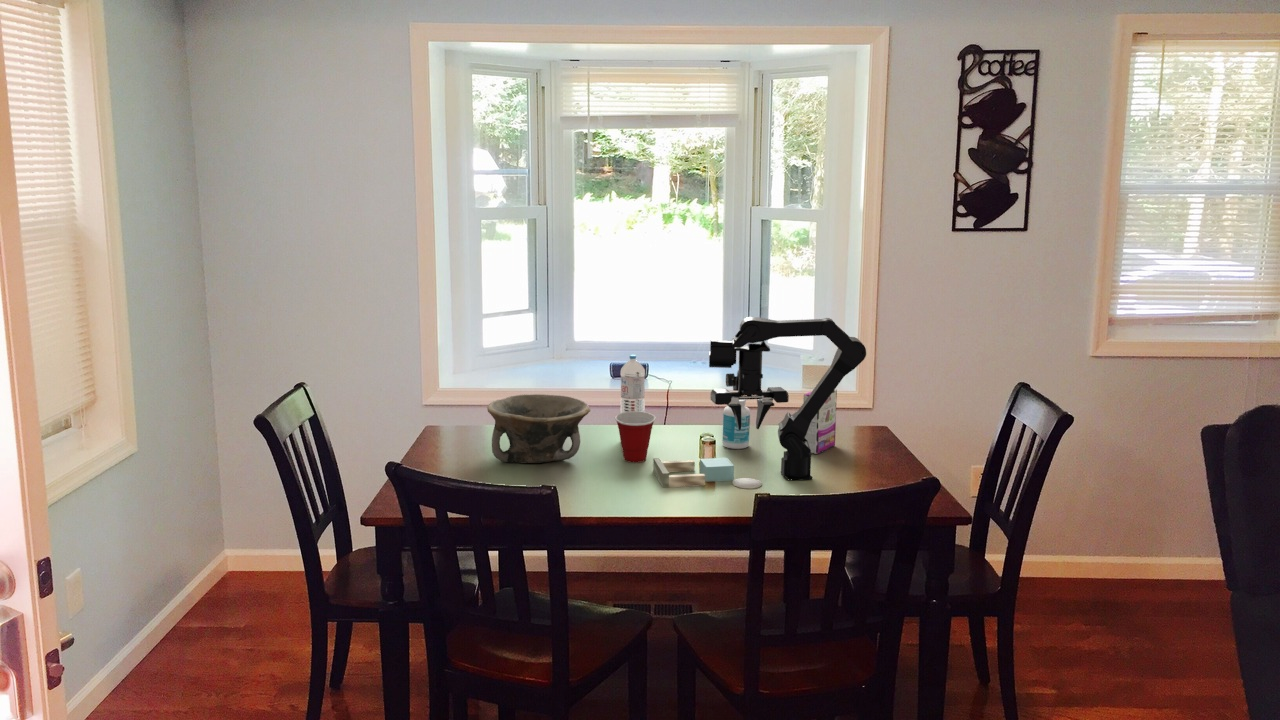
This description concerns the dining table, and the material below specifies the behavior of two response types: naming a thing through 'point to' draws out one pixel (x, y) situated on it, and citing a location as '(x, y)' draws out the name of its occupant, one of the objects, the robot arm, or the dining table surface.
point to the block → (717, 469)
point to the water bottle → (632, 386)
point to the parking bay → (668, 480)
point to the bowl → (536, 427)
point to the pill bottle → (736, 428)
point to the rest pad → (746, 483)
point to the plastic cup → (635, 434)
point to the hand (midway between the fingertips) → (748, 429)
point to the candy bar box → (823, 426)
